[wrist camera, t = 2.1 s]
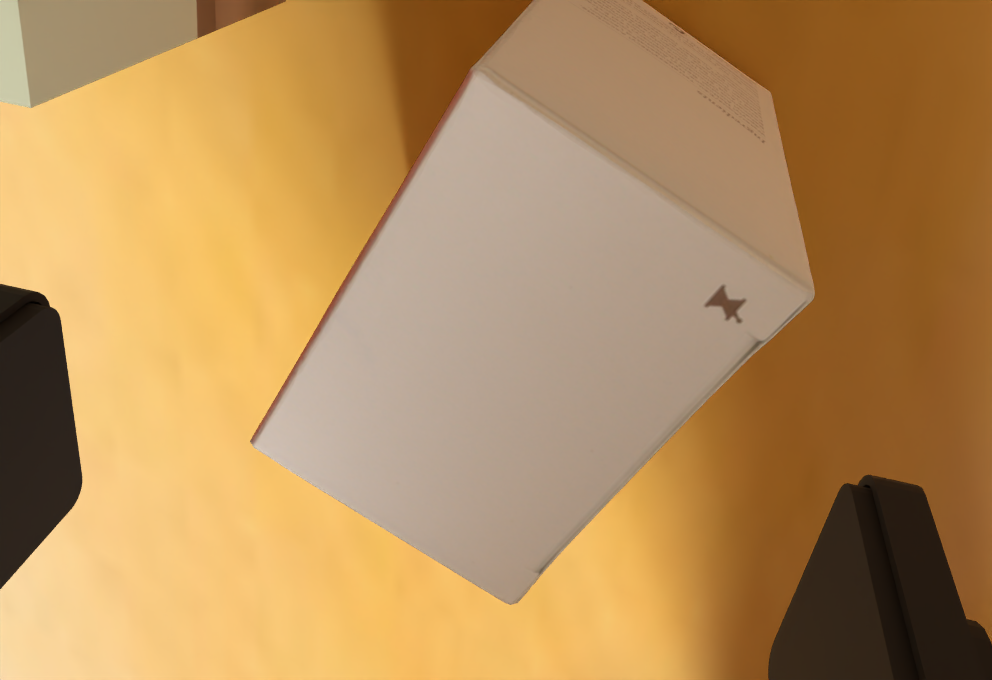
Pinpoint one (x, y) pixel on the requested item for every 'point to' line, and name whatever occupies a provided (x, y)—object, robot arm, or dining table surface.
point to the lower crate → (227, 12)
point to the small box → (548, 292)
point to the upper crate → (82, 42)
